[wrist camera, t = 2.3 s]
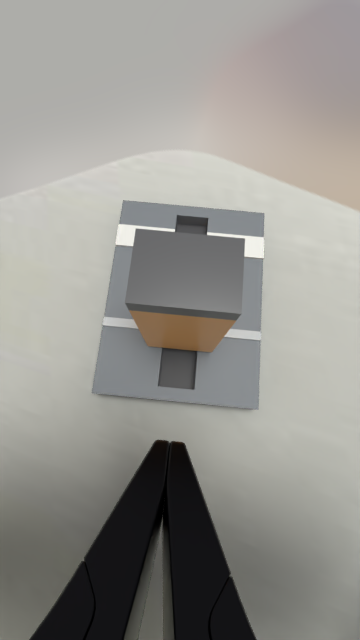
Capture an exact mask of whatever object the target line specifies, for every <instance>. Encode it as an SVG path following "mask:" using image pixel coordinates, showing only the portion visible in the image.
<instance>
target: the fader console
mask: <svg viewBox="0 0 360 640" xmlns="http://www.w3.org/2000/svg"><path fill="white" fill-rule="evenodd" d="M136 228H137V229H148V230H158V231H169V232H180V233H191V234H202V235H212V236H223V237H234V238H245V252H244V273H243V294H242V314H241V315H240V317H239V318H238V319H237V320H236V322H235V323H234V324H233V326H232V327H231V328H230V330H229V331H228V332H227V333H226V335H225V336H224V337H223V339H222V340H221V341H220V343H219V344H218V345H217V346H216V348H215V349H214V350H213V352H202V351H192V350H181V349H171V348H161V347H150V346H147V344H146V342H145V340H144V338H143V336H142V334H141V332H140V331H139V329H138V327H137V325H136V323H135V321H134V319H133V317H132V315H131V314H130V312H129V310H128V308H127V306H126V304H125V298H126V291H127V284H128V278H129V271H130V264H131V257H132V250H133V244H134V237H135V230H136ZM115 245H116V247H115V254H114V260H113V266H112V272H111V278H110V284H109V290H108V297H107V303H106V309H105V315H104V317H103V323H102V326H103V327H102V333H101V340H100V346H99V352H98V358H97V364H96V370H95V376H94V383H93V389H92V393H96V394H106V395H116V396H126V397H136V398H146V399H156V400H167V401H177V402H187V403H197V404H207V405H217V406H227V407H237V408H248V409H258V406H259V372H260V341H261V306H262V273H263V258H264V213H257V212H246V211H235V210H224V209H213V208H202V207H191V206H180V205H169V204H158V203H147V202H136V201H125V200H123V204H122V211H121V217H120V223H119V225H118V231H117V237H116V243H115Z"/></svg>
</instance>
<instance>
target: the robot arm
mask: <svg viewBox="0 0 360 640" xmlns="http://www.w3.org/2000/svg"><path fill="white" fill-rule="evenodd" d="M169 446H170V447H169ZM163 508H164V510H163ZM162 517H163V522H162ZM161 525H162V563H163V640H257V639H256V637H255V635H254V632H253V630H252V628H251V625H250V623H249V620H248V618H247V615H246V612H245V610H244V607H243V605H242V602H241V599H240V597H239V594H238V591H237V588H236V586H235V583H234V580H233V577H232V576H230V574H231V572H230V569H229V566H228V564H227V561H226V558H225V555H224V552H223V550H222V547H221V544H220V541H219V538H218V536H217V533H216V530H215V527H214V524H213V521H212V519H211V516H210V513H209V510H208V507H207V505H206V502H205V499H204V496H203V493H202V491H201V488H200V485H199V482H198V479H197V476H196V474H195V471H194V468H193V465H192V462H191V460H190V457H189V454H188V451H187V448H186V446H185V444H184V443H183V442H175V441H172V442H170V443H169V441H165V440H156V441H155V442H154V443H153V445H152V447H151V448H150V450H149V451H148V453H147V455H146V456H145V458H144V460H143V461H142V463H141V465H140V466H139V468H138V470H137V471H136V473H135V474H134V476H133V478H132V479H131V481H130V483H129V484H128V486H127V488H126V489H125V491H124V493H123V494H122V496H121V498H120V499H119V501H118V502H117V504H116V506H115V507H114V509H113V511H112V512H111V514H110V516H109V517H108V519H107V521H106V522H105V524H104V526H103V527H102V529H101V530H100V532H99V534H98V535H97V537H96V539H95V540H94V542H93V544H92V545H91V547H90V549H89V550H88V552H87V553H86V555H85V557H84V561H82V562H81V563H80V565H79V566H78V568H77V570H76V571H75V573H74V575H73V576H72V578H71V579H70V581H69V583H68V584H67V586H66V587H65V589H64V590H63V592H62V593H61V595H60V597H59V598H58V600H57V601H56V603H55V604H54V606H53V607H52V609H51V610H50V611H49V613H48V614H47V616H46V617H45V618H44V620H43V621H42V623H41V624H40V626H39V627H38V628H37V630H36V631H35V633H34V634H33V635H32V637H31V638H30V639H29V640H138V636H139V631H140V626H141V621H142V617H143V612H144V607H145V602H146V597H147V593H148V588H149V583H150V578H151V574H152V569H153V564H154V559H155V554H156V550H157V545H158V540H159V535H160V530H161Z"/></svg>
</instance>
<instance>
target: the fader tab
mask: <svg viewBox="0 0 360 640" xmlns="http://www.w3.org/2000/svg"><path fill="white" fill-rule="evenodd" d="M244 252H245V238H234V237H223V236H212V235H202V234H191V233H180V232H169V231H158V230H148V229H137V228H136V230H135V237H134V244H133V250H132V257H131V264H130V271H129V278H128V284H127V291H126V298H125V304H126V306H127V308H128V310H129V312H130V314H131V315H132V317H133V319H134V321H135V323H136V325H137V327H138V329H139V331H140V332H141V334H142V336H143V338H144V340H145V342H146V344H147V346H150V347H161V348H171V349H181V350H192V351H202V352H213V350H214V349H215V348H216V346H217V345H218V344H219V343H220V341H221V340H222V339H223V337H224V336H225V335H226V333H227V332H228V331H229V330H230V328H231V327H232V326H233V324H234V323H235V322H236V320H237V319H238V318H239V317H240V315H241V314H242V294H243V273H244Z"/></svg>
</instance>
